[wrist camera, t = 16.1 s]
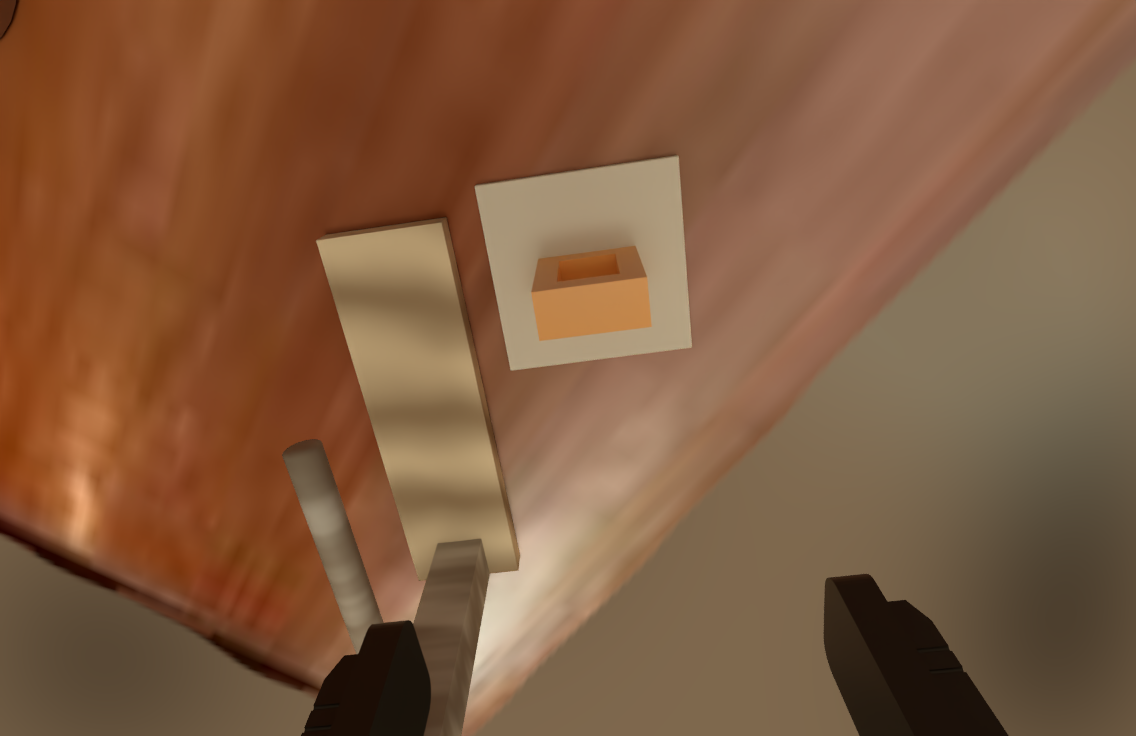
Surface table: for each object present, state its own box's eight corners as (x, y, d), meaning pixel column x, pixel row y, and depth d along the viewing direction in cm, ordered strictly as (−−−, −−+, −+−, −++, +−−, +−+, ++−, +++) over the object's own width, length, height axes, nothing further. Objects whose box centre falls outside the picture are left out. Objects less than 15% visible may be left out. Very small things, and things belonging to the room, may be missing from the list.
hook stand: (520, 555, 45) (488, 822, 29) (423, 566, 46) (338, 834, 29) (446, 217, 36) (337, 328, 19) (326, 234, 36) (119, 358, 20)
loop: (545, 300, 37) (539, 341, 31) (538, 258, 36) (531, 292, 30) (639, 288, 37) (651, 326, 31) (635, 245, 36) (647, 276, 30)
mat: (511, 366, 40) (510, 370, 39) (476, 184, 35) (474, 186, 35) (690, 343, 39) (691, 347, 38) (676, 155, 34) (678, 156, 34)
